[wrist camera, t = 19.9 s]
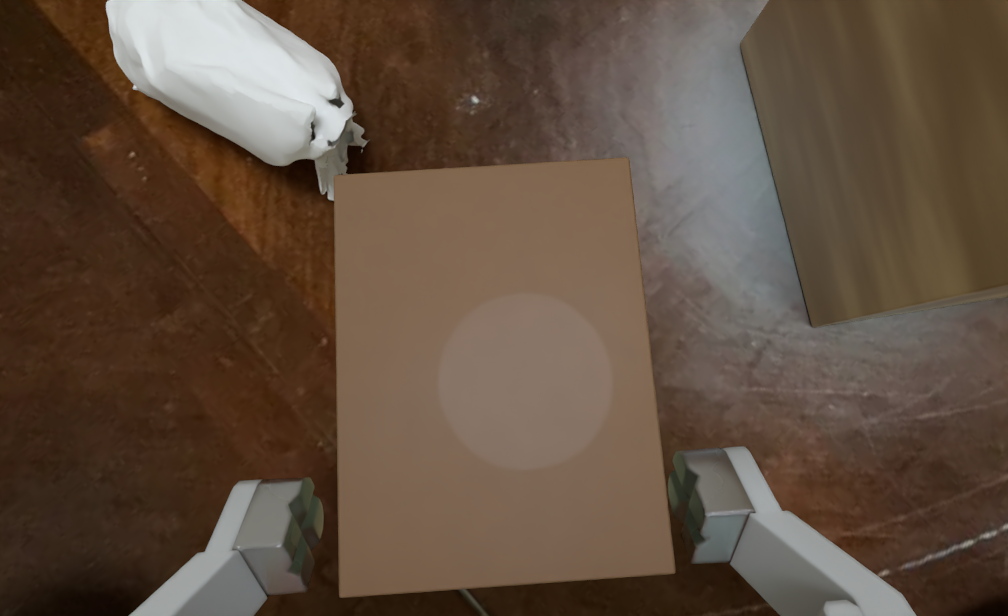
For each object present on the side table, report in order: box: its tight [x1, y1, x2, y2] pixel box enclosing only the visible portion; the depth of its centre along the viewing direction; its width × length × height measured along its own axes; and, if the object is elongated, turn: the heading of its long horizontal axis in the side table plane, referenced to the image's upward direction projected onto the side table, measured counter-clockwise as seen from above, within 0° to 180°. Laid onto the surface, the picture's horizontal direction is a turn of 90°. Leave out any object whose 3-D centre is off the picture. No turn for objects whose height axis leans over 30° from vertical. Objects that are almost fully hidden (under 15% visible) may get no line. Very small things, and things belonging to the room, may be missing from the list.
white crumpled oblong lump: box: [106, 0, 371, 201], centre depth 18 cm, size 5×7×10 cm
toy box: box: [334, 157, 676, 598], centre depth 15 cm, size 6×8×9 cm
